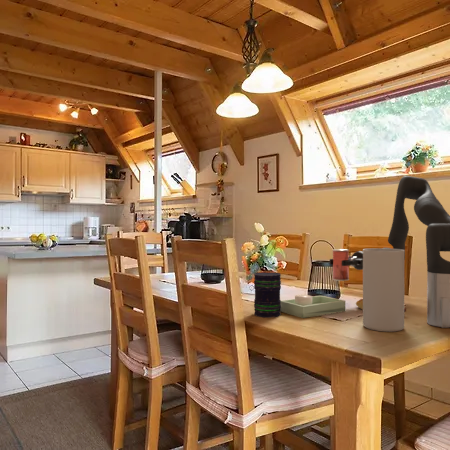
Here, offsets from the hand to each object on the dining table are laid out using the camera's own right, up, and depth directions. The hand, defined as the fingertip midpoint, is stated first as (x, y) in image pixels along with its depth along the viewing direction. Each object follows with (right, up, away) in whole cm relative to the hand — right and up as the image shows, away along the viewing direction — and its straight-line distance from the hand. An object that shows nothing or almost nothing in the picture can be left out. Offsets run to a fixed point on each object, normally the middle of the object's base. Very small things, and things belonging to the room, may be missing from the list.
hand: (336, 262), depth 171 cm
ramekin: (-15, -16, -10) cm, 24 cm away
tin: (+2, -7, +1) cm, 7 cm away
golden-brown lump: (+14, -18, -8) cm, 25 cm away
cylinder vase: (+7, -18, -32) cm, 37 cm away
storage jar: (-29, -18, -13) cm, 36 cm away
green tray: (-11, -18, -8) cm, 22 cm away
